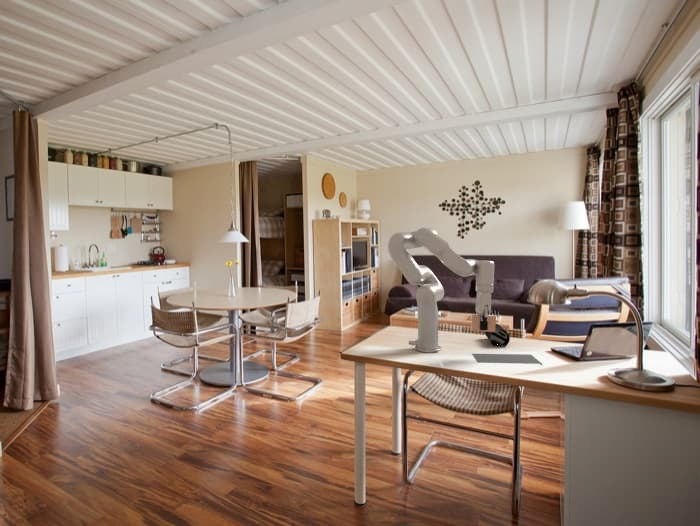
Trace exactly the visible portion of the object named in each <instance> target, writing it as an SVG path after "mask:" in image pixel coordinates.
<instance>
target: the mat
mask: <svg viewBox="0 0 700 526" xmlns="http://www.w3.org/2000/svg"><path fill="white" fill-rule="evenodd" d="M471 355H472V356H473V358H474V359H475V361H476V362H477V363H481V364H484V363H487V364H530V365H531V364H534V365H535V364H537V365H541V366H543V363H542V362H540V360H538V359H537V358H536V357H535V356H533V355H532V354H520V353H517V354H516V353H514V354H513V353H471Z"/></svg>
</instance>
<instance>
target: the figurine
mask: <svg viewBox="0 0 700 526" xmlns="http://www.w3.org/2000/svg"><path fill="white" fill-rule="evenodd" d="M484 334H485V336H486V338H487V339H488V340H489V341H490V343H491V344H492V345H493V346H494V347H495V346H502V347H507V346H508V344H509V343H510V340H511V339H510V338H511V337H510V334H509V333H508V332H507V331H506V329H505V328H504V327H502V326H501V325H500V324H498V323H496V325H495V332H484ZM497 344H498V345H497Z"/></svg>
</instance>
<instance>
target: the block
mask: <svg viewBox="0 0 700 526" xmlns="http://www.w3.org/2000/svg"><path fill="white" fill-rule="evenodd" d="M496 317H497V316H496V315H495V314H492V315H491V314H490V315H488V330H480V321H481V315H479V314H471V320H470V322H471V323H470V325H471V326H470V331H471V332H483V333H485V332H495V325H496V324H497V323H496V320H497V319H496Z"/></svg>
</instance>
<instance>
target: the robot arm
mask: <svg viewBox="0 0 700 526" xmlns="http://www.w3.org/2000/svg"><path fill="white" fill-rule="evenodd" d="M417 248H424V249H425V250H427V251H428V252H429V253H431V254H432V255H433V256H435V257H436V258H437V259H438V260H439V261H440V262H441V263H442V264H443V265H444V266H445V267H446V268H447V269H449V270H450V271H452V272H453V273H455V274H456V275H458V276H459V277H469V276H475V292H476V300H475V301H476V302H475V313H477V315H481V321H480V330H488V315H491V312H492V293H494V288H495V287H494V285H495V262H494V261H493V260H485V259H483V260H478V259H473V258H469V259H468V258H466V259H465V258H464V257H462V256H460V255H459V254H458V253H457V252H455V251H454V250H453V249H452V248H451V244H450V243H449V241H447V240H445V239H444V238H442V237H441V236H439V235H438V232H437V231H436V229H434V228H431V227H420V228H418V229H417V230H416V231H408V232H406V231H403V232H402V231H400V232H399V231H398V232H395V233H393V234H392V235H391V237H390V238H389V240H388V245H387V249H388V254H389V255H390V258H391V259H392V261H393V263H395V265H396V266H397V267H398V269H399V271H400V272H401V274H402V275H403V276H404V278H405V279H406V281H407V282H408V283H409V285H412V286H419V287H418V288H417V290H416V295H415V299H416V305H417V321H418V322H417V338H416V339H415V340H408V345H410V346H414V349H415V351H418V352H420V353H429V354H430V353H438V352H440V351H442V348H443V347H442V346H441V345H439V309H438V308H439V307H438V304H437V302H439V301H441V300H442V299H443V298H444V296H445V289H444V286H443V285H442V284H441V282H440V281H439V279H438V278H437V276H436V275H435V274H434V273H433V271H432V270H431V269H430V268H429V267H428V266H426V265H424V264H423V265H421V264H420V265H419V264H418V263H417V262H416V260H415V259H414V258H413V256H412V255H411V254H410V253H409V252H408V251H407V250H411V249H417Z"/></svg>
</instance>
